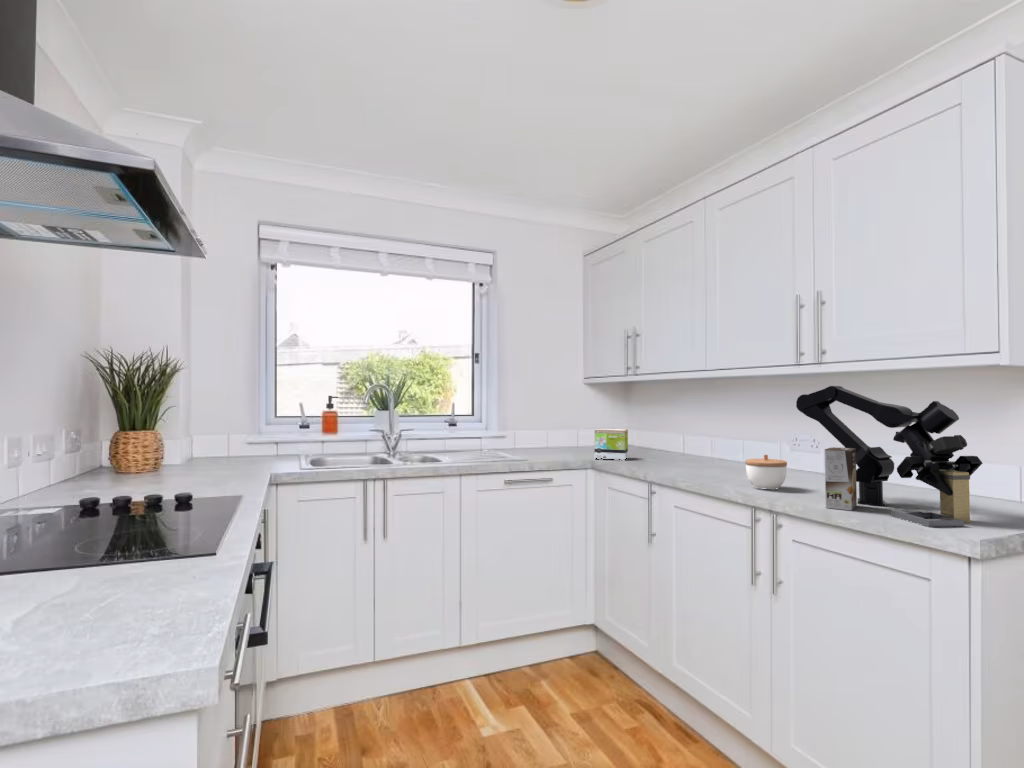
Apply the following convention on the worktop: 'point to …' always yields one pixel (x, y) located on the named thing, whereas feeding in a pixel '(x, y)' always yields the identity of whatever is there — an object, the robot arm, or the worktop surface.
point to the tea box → (611, 443)
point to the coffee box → (840, 478)
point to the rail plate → (919, 517)
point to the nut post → (956, 495)
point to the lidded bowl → (766, 472)
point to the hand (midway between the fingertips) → (959, 494)
